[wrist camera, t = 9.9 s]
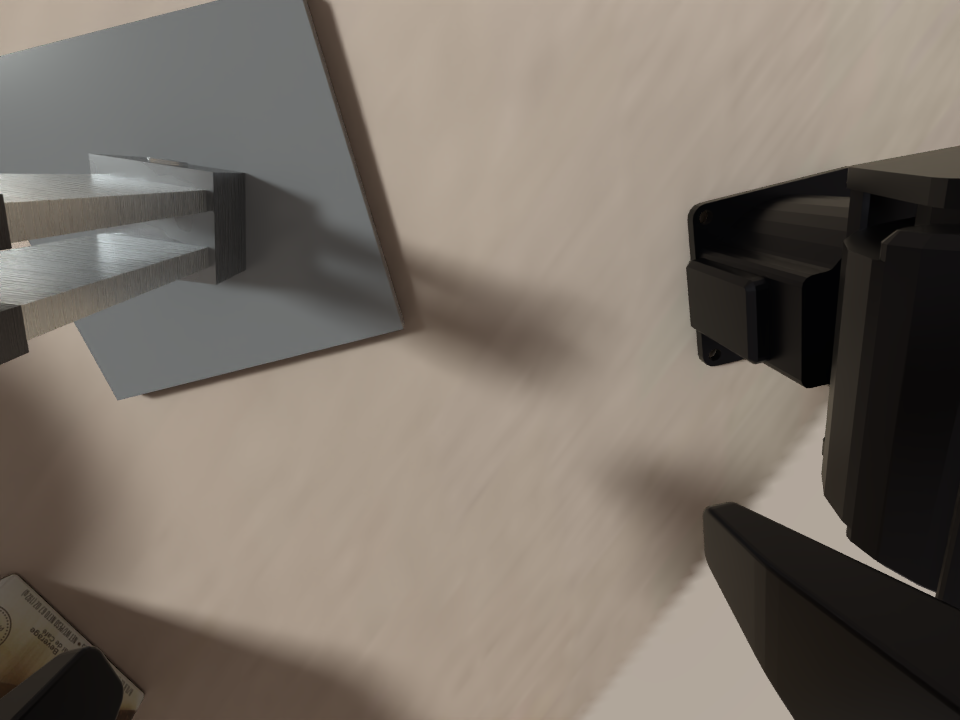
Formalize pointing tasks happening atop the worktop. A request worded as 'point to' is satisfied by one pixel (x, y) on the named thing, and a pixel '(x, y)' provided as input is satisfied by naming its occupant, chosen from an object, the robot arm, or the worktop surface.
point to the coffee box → (40, 640)
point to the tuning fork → (112, 238)
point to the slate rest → (223, 145)
